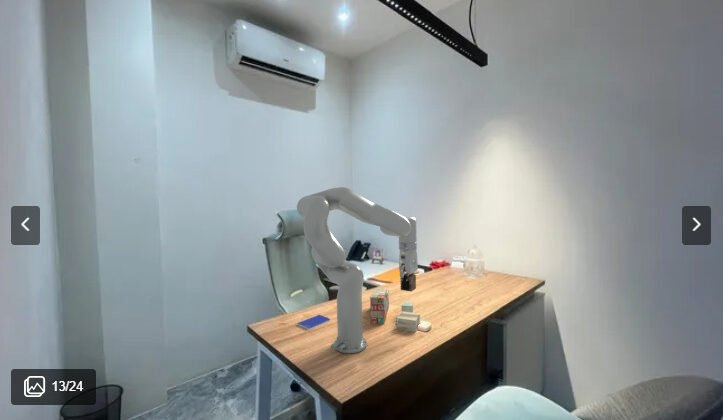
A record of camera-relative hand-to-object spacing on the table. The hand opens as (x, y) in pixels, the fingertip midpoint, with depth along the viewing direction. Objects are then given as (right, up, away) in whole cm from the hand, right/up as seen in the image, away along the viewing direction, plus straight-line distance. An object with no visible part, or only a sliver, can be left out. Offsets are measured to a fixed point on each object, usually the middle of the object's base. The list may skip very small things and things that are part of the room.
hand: (408, 287), depth 128 cm
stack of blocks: (-11, -17, +15) cm, 25 cm away
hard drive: (-42, -19, +7) cm, 46 cm away
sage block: (+1, -17, +12) cm, 21 cm away
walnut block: (0, -1, 0) cm, 1 cm away
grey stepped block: (0, -17, +1) cm, 17 cm away
